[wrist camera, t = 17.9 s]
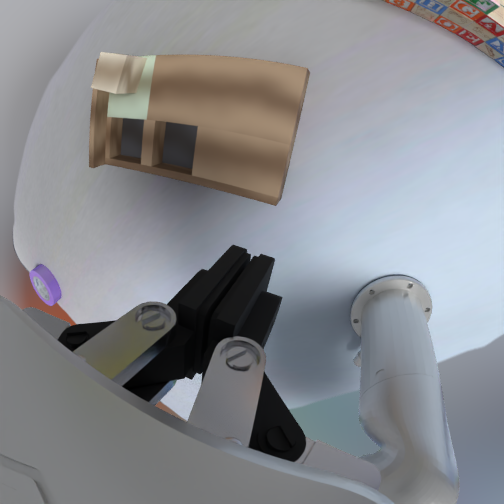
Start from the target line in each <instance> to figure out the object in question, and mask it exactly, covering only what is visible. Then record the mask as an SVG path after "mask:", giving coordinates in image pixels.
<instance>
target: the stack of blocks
mask: <svg viewBox="0 0 504 504" xmlns="http://www.w3.org/2000/svg"><path fill="white" fill-rule="evenodd" d="M383 1H386V2H387V3H390V4H393V5H395V6H398V7H400V8H402V9H405V10H407V11H410V12H412V13H414V14H416V15H418V16H420V17H422V18H424V19H427V20H429V21H431V22H434V23H436V24H438V25H440V26H442V27H444V28H445V29H447V30H449V31H451V32H453V33H455V34H457V35H458V36H460V37H462V38H463V39H465V40H467V41H468V42H470V43H471V44H473V45H475V47H476V48H478V49H479V50H481V51H482V52H484V53H485V54H487V55H488V56H489V57H491V58H492V59H494V60H495V61H496V62H498V63H499V64H500V65H502V66H503V67H504V0H383Z"/></svg>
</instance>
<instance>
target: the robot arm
mask: <svg viewBox="0 0 504 504" xmlns="http://www.w3.org/2000/svg"><path fill="white" fill-rule="evenodd" d="M250 258H251V254H248V253H247V249H245V248H242V247H239V246H235V245H232V246H231V247H230V248H229V249H228V250H227V251H226V252H225V253H224V254H223V255H222V256H221V258H220V259H219V260H218V261H217V262H216V263H215V264H214V265H213V266H212V267H211V268H210V269H209V270H208V271H207V270H204V269H201V270H200V271H199V272H198V273H197V274H196V275H195V276H194V277H193V278H192V279H191V280H190V281H189V282H188V283H187V284H186V285H185V286H184V287H183V288H182V289H181V290H180V291H179V292H178V293H177V294H176V295H175V296H174V298H173V299H172V300H171V301H170V302H169V303H168V304H167V305H166V304H164V303H160V302H146V303H142V304H140V305H138V306H136V307H135V308H133V309H132V310H131V311H129V312H128V313H126V314H125V315H123V316H122V317H121V318H119V319H118V320H116V321H107V322H98V323H87V324H77V325H73V326H70V323H68V322H66V321H63V320H61V319H59V318H56V317H54V316H52V315H50V314H47V313H45V312H43V311H40V310H38V309H36V308H32V307H30V308H25V309H23V310H22V309H20V308H19V307H18V306H17V305H16V304H14V303H13V302H11V301H10V300H8V299H6V298H4V297H2V296H0V504H456V502H457V499H458V495H459V474H458V469H457V464H456V459H455V454H454V450H453V446H452V442H451V437H450V432H449V427H448V421H447V415H446V409H445V404H444V398H443V392H442V386H441V381H440V376H439V371H438V366H437V361H436V356H435V352H434V348H433V344H432V339H431V335H430V332H429V328H428V324H427V323H428V321H429V319H430V316H431V313H432V301H431V298H430V295H429V293H428V291H427V289H426V288H425V287H424V285H423V284H422V283H420V282H419V281H417V280H415V279H413V278H410V277H406V276H389V277H384V278H381V279H378V280H376V281H374V282H372V283H370V284H369V285H367V286H366V287H365V288H363V289H362V291H361V292H360V293H359V294H358V295H357V297H356V298H355V300H354V302H353V304H352V307H351V324H352V327H353V329H354V331H355V332H356V333H357V335H358V336H359V337H361V347H360V348H361V351H359V353H358V354H357V356H356V357H355V358H354V364H355V365H356V366H358V367H361V377H360V397H359V421H360V424H361V427H362V429H363V431H364V432H365V434H366V435H367V436H368V437H369V438H370V439H371V440H372V441H374V442H375V443H376V444H377V445H378V446H379V447H380V450H379V451H377V452H375V453H373V454H368V455H363V456H361V457H355V456H353V455H351V454H348V453H346V452H344V451H341V450H339V449H337V448H335V447H332V446H330V445H328V444H326V443H324V442H322V441H320V440H316V441H313V440H311V439H309V438H307V437H305V435H304V433H303V431H302V429H301V427H300V426H299V425H298V423H297V422H296V420H295V419H294V417H293V416H292V414H291V413H290V411H289V410H288V408H287V406H286V405H285V403H284V402H283V400H282V399H281V397H280V396H279V394H278V393H277V391H276V390H275V388H274V386H273V385H272V383H271V382H270V380H269V378H268V377H267V375H266V374H265V372H264V369H265V364H266V354H265V352H264V350H263V349H264V346H265V344H266V342H267V339H268V337H269V335H270V332H271V330H272V327H273V324H274V322H275V319H276V316H277V313H278V310H279V307H280V304H281V301H282V297H280V296H277V295H274V294H271V293H269V292H267V288H268V284H269V281H270V277H271V273H272V269H273V265H274V261H275V258H272V257H269V256H266V255H263V254H260V256H259V257H257V256H254V257H253V258H252V259H251V261H250ZM202 372H203V373H202ZM196 373H198V374H201V373H202V384H201V387H200V390H199V392H198V395H197V397H196V400H195V403H194V405H193V408H192V411H191V413H190V416H189V419H188V421H187V422H185V421H183V420H181V419H179V418H176V417H175V416H173V415H171V414H169V413H167V412H165V411H163V410H161V409H159V408H158V407H156V406H155V405H156V404H157V403H158V402H159V401H160V400H161V399H162V398H163V397H164V396H165V395H166V394H167V393H168V392H169V391H170V390H171V388H172V387H173V386H174V385H175V383H176V381H177V380H178V379H183V378H185V377H187V378H189V379H191V380H192V379H193V377H194V376H195V374H196Z"/></svg>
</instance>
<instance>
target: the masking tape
mask: <svg viewBox="0 0 504 504" xmlns="http://www.w3.org/2000/svg"><path fill="white" fill-rule="evenodd" d="M30 280H31V283H32V285H33V287H34V289H35V291H36V293H37V294H38V295H39V297H40V298H41V299H42V300H43V301H44V302H45V303H46V304H48V305H50V306H52V305H54V304H55V303H56V302H57V301H58V300H59V299H60V298H61V290H60V287H59V284H58V282H57V280H56V279H55V277H54V275H53V274H52V273H51V271H50V270H49V269H48V268H47V267H46V266H44V265H42V264H40V265H38V266H37V267H36V268H34V269H33V270H32V271H31V272H30Z"/></svg>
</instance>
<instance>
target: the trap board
mask: <svg viewBox="0 0 504 504" xmlns="http://www.w3.org/2000/svg"><path fill="white" fill-rule="evenodd" d="M138 57H143V58H147V60H146V63H145V66H144V69H143V72H142V76H141V79H140V82H139V85H138V89H137V92H136V93H125V94H114V93H110V92H106V91H102V90H98V89H94V88H93V93H92V104H91V117H90V139H89V167H91V168H95V167H98V166H101V165H104V164H108V165H113V166H118V167H123V168H127V169H132V170H137V171H141V172H146V173H151V174H155V175H159V176H164V177H168V178H172V179H177V180H181V181H185V182H189V183H193V184H197V185H201V186H205V187H209V188H213V189H217V190H220V191H224V192H228V193H232V194H235V195H239V196H243V197H246V198H250V199H254V200H257V201H261V202H264V203H268V204H271V205H275V206H276V205H277V204H278V202H279V201H280V199H281V197H282V193H283V188H284V184H285V180H286V176H287V172H288V167H289V163H290V159H291V155H292V150H293V146H294V142H295V137H296V133H297V129H298V124H299V120H300V115H301V111H302V107H303V102H304V98H305V93H306V89H307V84H308V79H309V75H310V72H309V70H308V68H304V67H300V66H295V65H289V64H284V63H278V62H271V61H265V60H257V59H249V58H239V57H228V56H213V55H153V56H138ZM98 60H99V59H97V63H98ZM97 63H96V67H97ZM95 71H96V69H95Z"/></svg>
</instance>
